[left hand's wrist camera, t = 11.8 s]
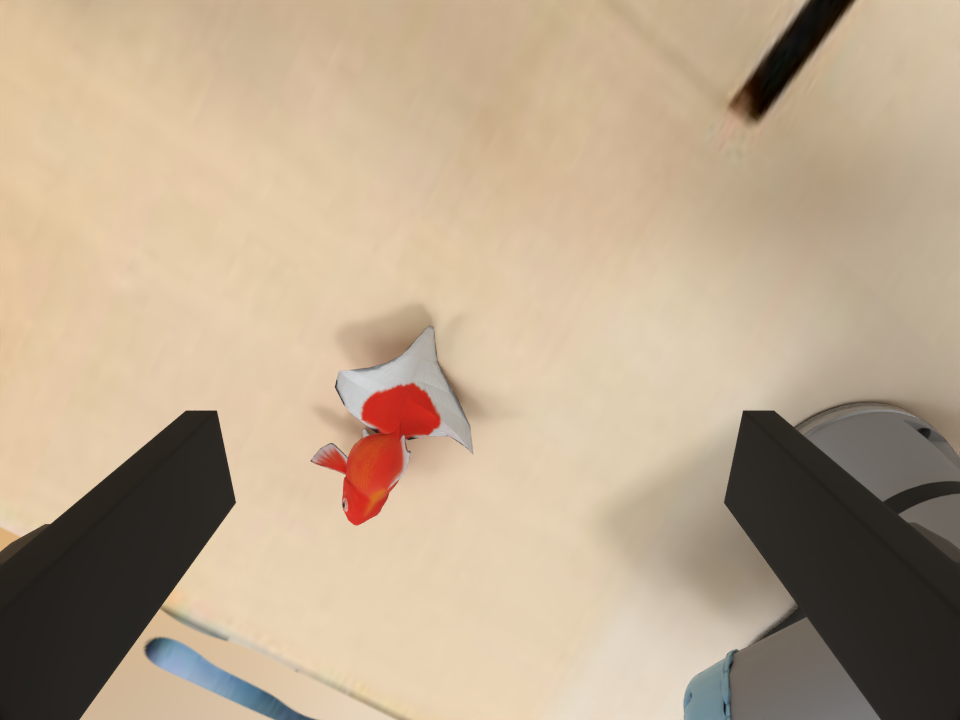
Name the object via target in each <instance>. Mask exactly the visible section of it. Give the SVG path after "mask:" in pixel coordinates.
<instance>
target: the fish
mask: <svg viewBox="0 0 960 720" xmlns="http://www.w3.org/2000/svg"><path fill="white" fill-rule="evenodd" d="M335 388H336V390H337V392H338V394H339V396H340V398H341V400H342V402H343V404H344V405H345V407H346V408H347V409H348V410H349V411H350V412H351V413H352V414H353V415H354V416H355V417H356V418H358V419H359V420H360V421H361V422H363V423H364V424H365V425H367V426H368V427H369V428H371V429H372V430H373V431H375V432H376V433H378V434H372V435H370V434H369V433H368V432H367V431H366V430H365V429H363V431H362V433H363V438H362V439H361V440H359V441H358V442H357V443H356V444H355V445H354V446H353V448H352V449H351V451H350V454H349V456H348V458H347V457H346V455H345V454H344V453H343V452H342V451H341V450H340V449H339V448H338V447H337V446H336V445H334V444H333V443H330V444H328V445H326V446H324V447H322V448H321V449H320V450H319V451H318V452H317V453H316V454H315V456H314V457H313V458H312V460H311V462H313V463H315V464H317V465H320V466H323V467H326V468H329V469H333V470H336V471H338V472H341V473H343V474H346V477H345V478H344V484H343V498H342V506H343V510H344V512H345V514H346V516H347V518H348V520H349V521H350V522H351V523H352V524H354V525H356V526H357V525H359V524H362V523H364V522H365V521H367V520H369V519H370V518H372V517H374V516H376V515H377V514H379V512H380V511H381V509H382V506H383V505H384V504H385V502H386V500H387V498H388V495H389V492H390V491H391V490H392V489H393V488H394V487H395V485H396V484H397V483H398V481H399V479H400V478H401V477H402V476H403V475H404V473H405V471H406V468H407V466H408V461H409V457H410V451H407V446H406V442H405V439H408V440H411V439H416V438H421V437H426V436H450V437H451V438H453V439H454V440H456V441H458V442H459V443H461V444H462V445H464V446H465V447H466V448H467V449H468V450H469V451H470V452H471V453H472V454H473V447H472V439H471V430H470V425H469V422H468V420H467V418H466V416H465V414H464V412H463V410H462V407H461V405H460V403H459V401H458V399H457V397H456V395H455V393H454V392H453V390H452V388H451V386H450V385H449V383H448V381H447V379H446V378H445V376H444V374H443V372H442V370H441V368H440V366H439V364H438V362H437V354H436V346H435V339H434V327H432V326H428V327H427V328H426V329H425V330H424V331H423V332H422V334H421V335H420V336H419V337H418V338H417V339H416V340H415V341H414V342H413V343H412V344H411V345H410V347H409V348H408V349H407V350H406V351H405V352H404V353H403V354H402V355H401V356H399V357H397V358H395V359H393V360H391V361H389V362H387V363H384V364H381V365H377V366H374V367H370V368H363V369H354V370H346V371H339V373H338V377H337V381H336V385H335Z"/></svg>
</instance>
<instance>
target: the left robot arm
mask: <svg viewBox="0 0 960 720" xmlns="http://www.w3.org/2000/svg"><path fill="white" fill-rule="evenodd" d="M235 503H236V501H235V496H234V491H233V486H232V481H231V477H230V472H229V467H228V462H227V457H226V452H225V448H224V443H223V438H222V433H221V428H220V423H219V418H218V414H217V411H185V412H184V413H183V414H182V415H180V416H179V417H178V418H177V419H176V420H174V421H173V422H172V423H171V424H170V425H168V426H167V427H166V428H165V429H164V430H162V431H161V432H160V433H159V434H158V435H156V436H155V437H154V438H153V439H152V440H151V441H149V442H148V443H147V444H146V445H145V446H143V447H142V448H141V449H140V450H139V451H137V452H136V453H135V454H134V455H133V456H131V457H130V458H129V459H128V460H127V461H125V462H124V463H123V464H122V465H121V466H119V467H118V468H117V469H116V470H115V471H113V472H112V473H111V474H110V475H109V476H108V477H106V478H105V479H104V480H103V481H102V482H100V483H99V484H98V485H97V486H96V487H94V488H93V489H92V490H91V491H90V492H88V493H87V494H86V495H85V496H84V497H82V498H81V499H80V500H79V501H78V502H76V503H75V504H74V505H73V506H72V507H70V508H69V509H68V510H67V511H66V512H65V513H63V514H62V515H61V516H60V517H59V518H57V519H56V520H55V521H54V522H53V523H51V524H45V525H43V526H41V527H39V528H37V529H36V530H34V531H32V532H30V533H28V534H27V535H25V536H23V537H21V538H19V539H17V540H16V541H14V542H12V543H11V544H9V545H8V546H7V547H6V548H4V549H3V550H2V551H1V552H0V720H79V719H80V718H81V717H82V715H83V714H84V712H85V711H86V710H87V708H88V707H89V705H90V704H91V703H92V701H93V700H94V699H95V697H96V696H97V694H98V693H99V692H100V690H101V689H102V687H103V686H104V685H105V683H106V682H107V681H108V679H109V678H110V676H111V675H112V674H113V672H114V671H115V669H116V668H117V667H118V665H119V664H120V663H121V661H122V660H123V658H124V657H125V656H126V654H127V653H128V651H129V650H130V649H131V647H132V646H133V645H134V643H135V642H136V640H137V639H138V638H139V636H140V635H141V633H142V632H143V631H144V629H145V628H146V626H147V625H148V624H149V622H150V621H151V620H152V618H153V617H154V615H155V614H156V613H157V611H158V610H159V609H160V607H161V606H162V604H163V603H164V602H165V600H166V599H167V597H168V596H169V595H170V593H171V592H172V591H173V589H174V588H175V586H176V585H177V584H178V582H179V581H180V579H181V578H182V577H183V575H184V574H185V573H186V571H187V570H188V568H189V567H190V566H191V564H192V563H193V561H194V560H195V559H196V557H197V556H198V555H199V553H200V552H201V550H202V549H203V548H204V546H205V545H206V543H207V542H208V541H209V539H210V538H211V537H212V535H213V534H214V532H215V531H216V530H217V528H218V527H219V525H220V524H221V523H222V521H223V520H224V518H225V517H226V516H227V514H228V513H229V512H230V510H231V509H232V507H233V506H234V505H235ZM724 503H725V505H726V506H727V507H728V509H729V510H730V512H731V513H732V514H733V516H734V517H735V518H736V520H737V521H738V523H739V524H740V525H741V527H742V528H743V530H744V531H745V532H746V534H747V535H748V537H749V538H750V539H751V541H752V542H753V543H754V545H755V546H756V548H757V549H758V550H759V552H760V553H761V555H762V556H763V557H764V559H765V560H766V561H767V563H768V564H769V566H770V567H771V568H772V570H773V571H774V573H775V574H776V575H777V577H778V578H779V579H780V581H781V582H782V584H783V585H784V586H785V588H786V589H787V591H788V592H789V593H790V595H791V596H792V597H793V599H794V600H795V602H796V603H797V604H798V606H799V607H798V609H797V610H796V611H795V612H794V613H793V614H792V615H791V616H790V617H789V618H788V619H786V620H785V621H784V622H783V623H781V624H780V625H779V626H777V627H776V628H775V629H773V630H772V631H771V632H769V633H768V634H767V635H765V636H764V637H763V638H762V639H761V640H760V641H758V642H756V643H754V644H752V645H750V646H748V647H746V648H744V649H742V650H740V651H739V650H737V649H735V650H732V651H730V652H729V653H728V654H727V655H726V658H725V659H723V660H721V661H719V662H718V663H716V664H714V665H713V666H711V667H709V668H708V669H706V670H704V671H702V672H701V673H699V674H697V675H696V676H695V677H694V678H693V679H692V680H691V681H690V683H689V684H688V686H687V688H686V691H685V696H684V720H960V457H959V456H958V455H957V453H956V452H955V451H954V450H953V448H952V447H951V446H950V445H949V443H948V442H947V441H946V440H945V439H944V437H943V436H942V435H941V434H940V433H939V432H938V431H937V430H936V429H935V428H934V427H932V426H931V425H930V424H928V423H927V422H925V421H923V420H921V419H920V418H918V417H916V416H915V415H913V414H911V413H909V412H908V411H906V410H903V409H901V408H899V407H896V406H892V405H888V404H883V403H855V404H849V405H844V406H840V407H836V408H833V409H830V410H827V411H825V412H822V413H820V414H818V415H816V416H814V417H812V418H810V419H808V420H807V421H805V422H803V423H802V424H800V425H799V426H797V427H796V428H794V427H793V426H792V425H790V424H789V423H788V422H787V421H786V420H784V419H783V418H782V417H781V416H780V415H778V414H777V413H776V412H775V411H743V414H742V418H741V423H740V428H739V433H738V438H737V443H736V448H735V452H734V457H733V462H732V467H731V472H730V477H729V481H728V486H727V491H726V496H725V501H724Z"/></svg>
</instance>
